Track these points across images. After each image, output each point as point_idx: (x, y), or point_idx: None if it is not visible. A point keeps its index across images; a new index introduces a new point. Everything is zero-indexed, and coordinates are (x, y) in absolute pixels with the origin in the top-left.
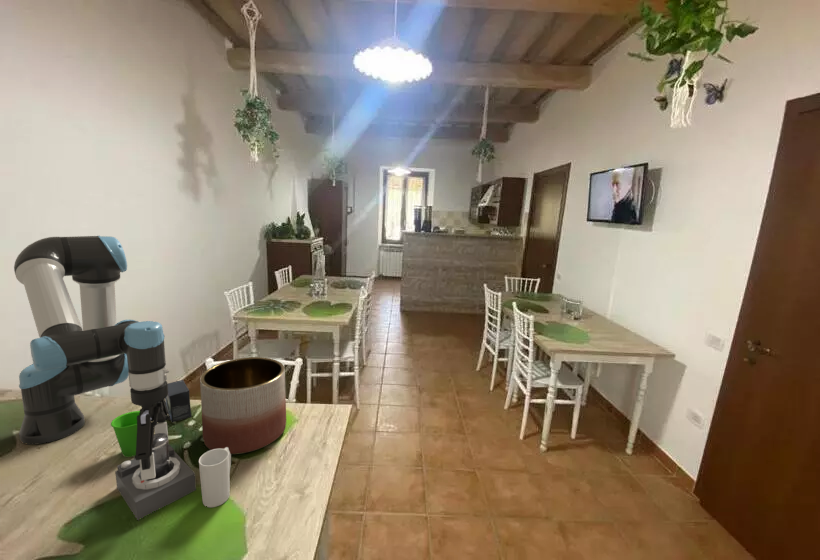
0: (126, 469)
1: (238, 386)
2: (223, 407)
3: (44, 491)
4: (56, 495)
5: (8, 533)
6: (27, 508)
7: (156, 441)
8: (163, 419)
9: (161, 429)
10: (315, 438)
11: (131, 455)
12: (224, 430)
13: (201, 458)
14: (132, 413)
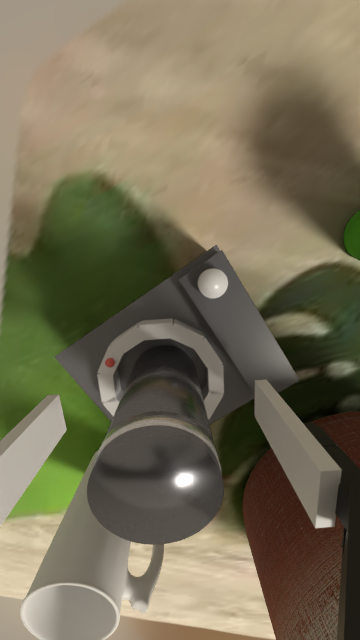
0: (188, 291)
1: None
2: None
3: (255, 33)
4: (223, 86)
5: (93, 30)
6: (186, 23)
7: (131, 507)
8: (342, 553)
9: (293, 464)
10: (255, 602)
11: (345, 237)
12: (283, 555)
13: (80, 576)
14: None
